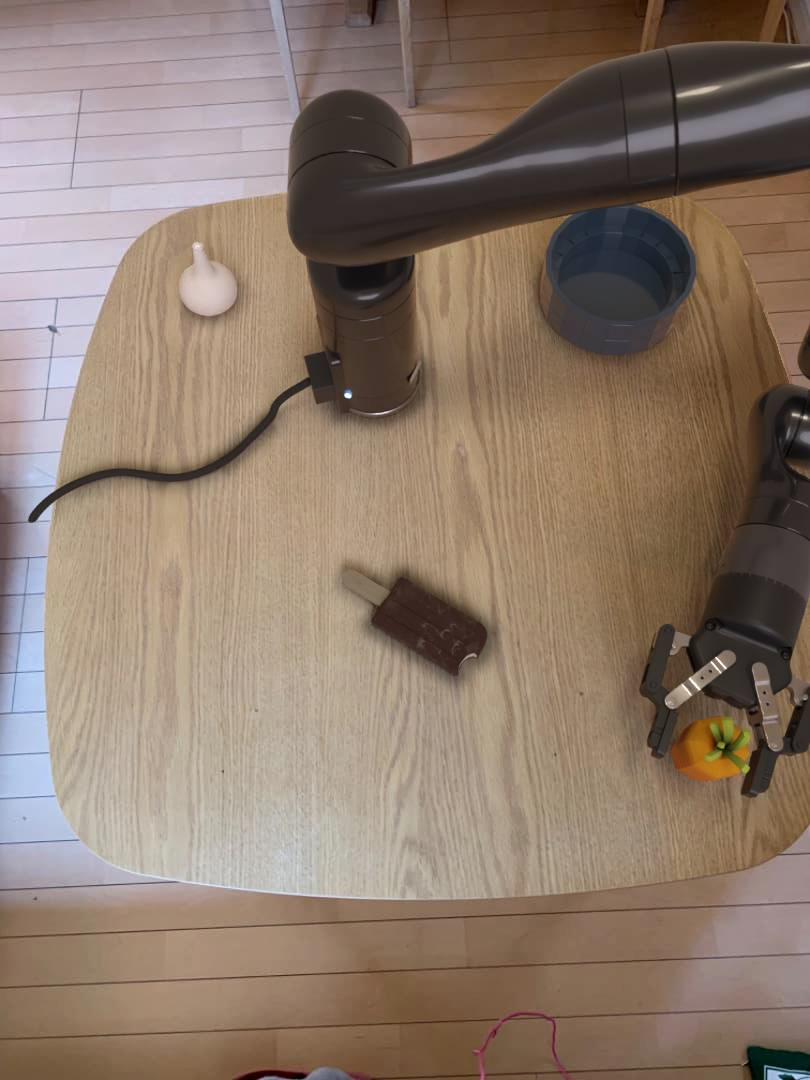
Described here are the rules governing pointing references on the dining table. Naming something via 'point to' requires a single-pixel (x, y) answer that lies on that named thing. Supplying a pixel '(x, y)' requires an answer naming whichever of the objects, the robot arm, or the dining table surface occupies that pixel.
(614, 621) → the dining table surface
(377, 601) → the ice cream bar
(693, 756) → the carrot
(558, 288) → the bowl
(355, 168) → the robot arm
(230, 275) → the garlic bulb
